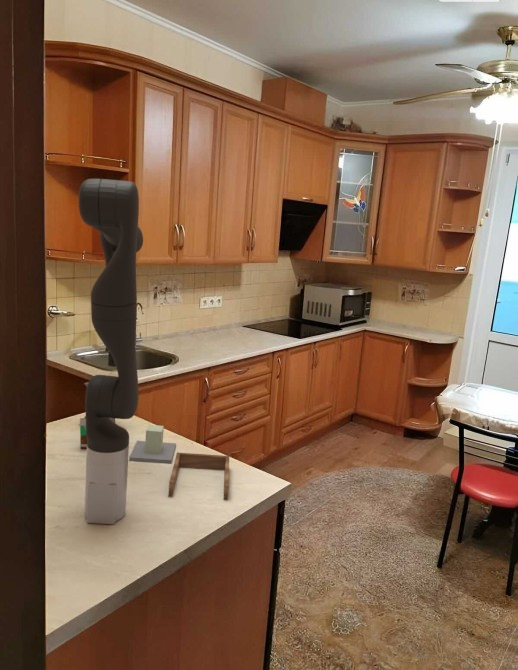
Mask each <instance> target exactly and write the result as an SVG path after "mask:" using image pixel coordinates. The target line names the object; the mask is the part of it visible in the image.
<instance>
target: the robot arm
mask: <svg viewBox="0 0 518 670" xmlns="http://www.w3.org/2000/svg"><path fill="white" fill-rule="evenodd" d="M78 190H79V191H78V211H79V216H80V217H81V221H83V223H84V224H86V225H87V226H89V227H92V228H94V229H95V230H96V231H98V232H99V239H100V243H101V248H102V252H103V256H104V261H105V262H104V263H105V268H103V270H102V272H101V273H100V274H99V276H98V278H96V280H95V282H94V284H93V286H92V288H91V291H90V311H91V312H90V313H91V323H92V326H93V329H94V330H95V332H96V334H97V335H98V337H99V339H100V340H101V342H102V343H103V344H104V346H105V351H106V352H108V354H107V355H108V357H107V361H108V362H107V363H108V364H107V365H108V367H115V368H116V371H117V375H116V376H114V375H108V374H107V375H105V374H95V375H93V376H92V377H91V378H90V379H89V381H88V382H89V383H88V385H87V387H86V389H85V397H84V399H85V400H84V404H85V416H86V437H87V449H86V459H85V487H84V488H85V491H84V493H85V495H84V517H85V518H86V523H88V524H99V525H100V524H103V525H115V524H116V522H118V521H120V520H121V519H123V518H124V516H125V515H126V512H127V511H126V510H127V509H126V508H127V488H128V471H129V470H128V468H129V452H130V451H129V449H130V434H129V432H128V430H127V429H126V428H124V427H122V426H121V425H119V424H117V423H116V424H115V423H114V422H113V421H111V420H110V419H109V418H115V420H116V419H118V420H130V419H131V418H133V417H134V416H135V414H136V412H137V410H138V405H139V395H140V393H139V377H138V375H139V374H138V365H137V362H138V361H137V348H136V347H137V317H138V315H137V314H138V313H137V312H138V306H137V305H138V301H137V300H138V295H137V290H138V289H137V253H138V252H139V251H141V249H142V247H143V245H144V235H143V232H142V230H141V228H140V227H139V215H140V214H139V213H140V199H139V190H138V187H137V185H136V183H135V182H134V181H129V180H121V179H120V180H119V179H106V178H105V179H104V178H88V179H86V180H83V182H82V183H81V185H80V187H79V189H78Z"/></svg>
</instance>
